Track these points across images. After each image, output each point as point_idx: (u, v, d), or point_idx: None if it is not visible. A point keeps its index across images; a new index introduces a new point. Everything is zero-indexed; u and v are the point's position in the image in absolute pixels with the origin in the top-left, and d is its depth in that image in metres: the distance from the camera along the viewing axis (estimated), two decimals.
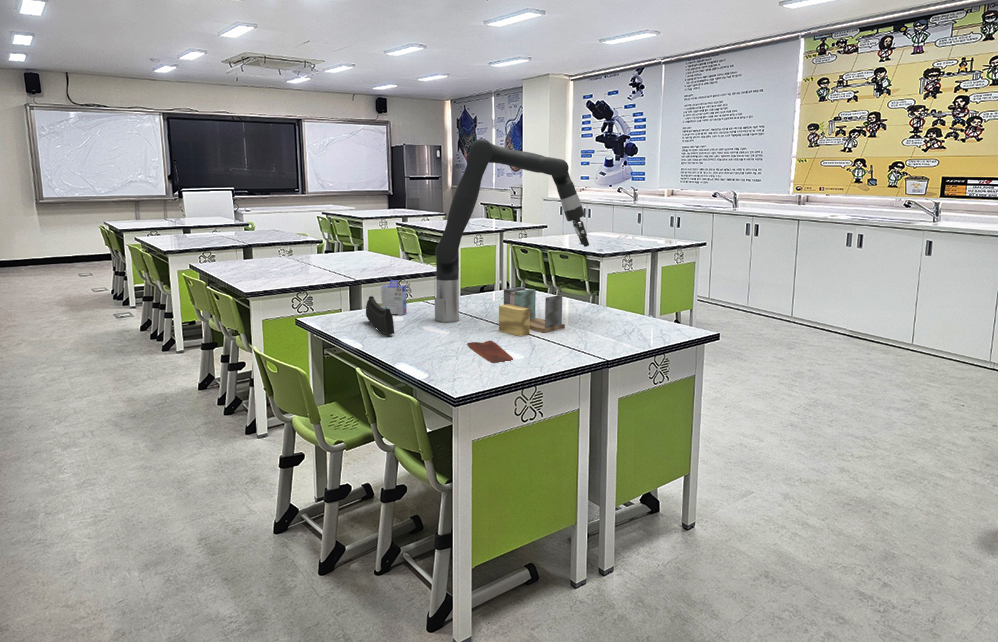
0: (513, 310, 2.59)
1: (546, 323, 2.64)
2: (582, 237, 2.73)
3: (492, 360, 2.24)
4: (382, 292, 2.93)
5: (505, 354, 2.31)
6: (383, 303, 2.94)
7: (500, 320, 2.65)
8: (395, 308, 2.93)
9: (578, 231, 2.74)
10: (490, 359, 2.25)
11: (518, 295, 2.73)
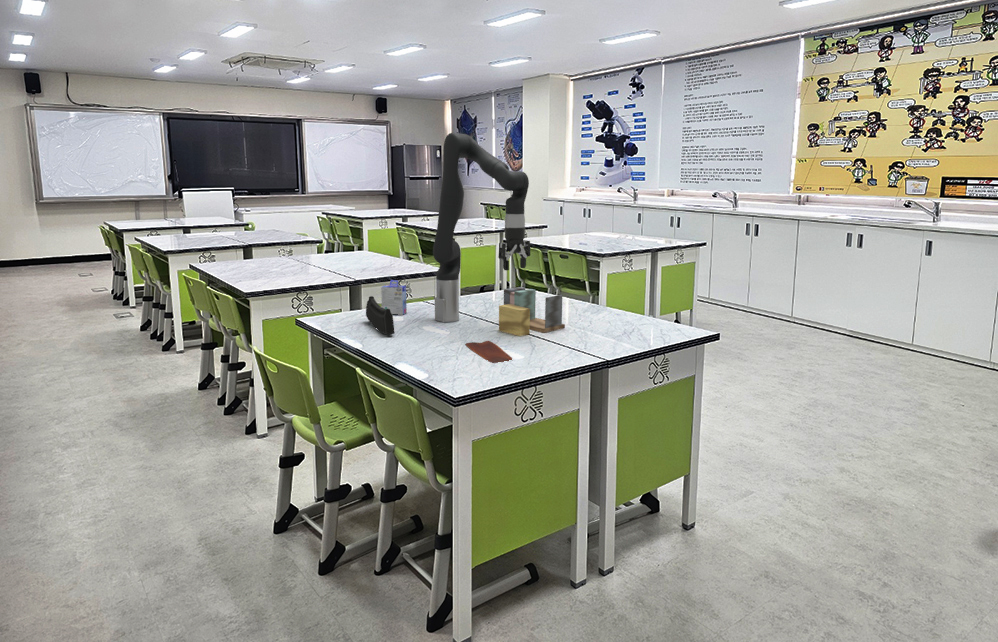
0: (513, 310, 2.59)
1: (546, 323, 2.64)
2: (502, 259, 2.55)
3: (492, 360, 2.24)
4: (382, 292, 2.93)
5: (504, 354, 2.31)
6: (383, 303, 2.94)
7: (500, 320, 2.65)
8: (395, 308, 2.93)
9: (505, 251, 2.56)
10: (490, 359, 2.25)
11: (518, 295, 2.73)
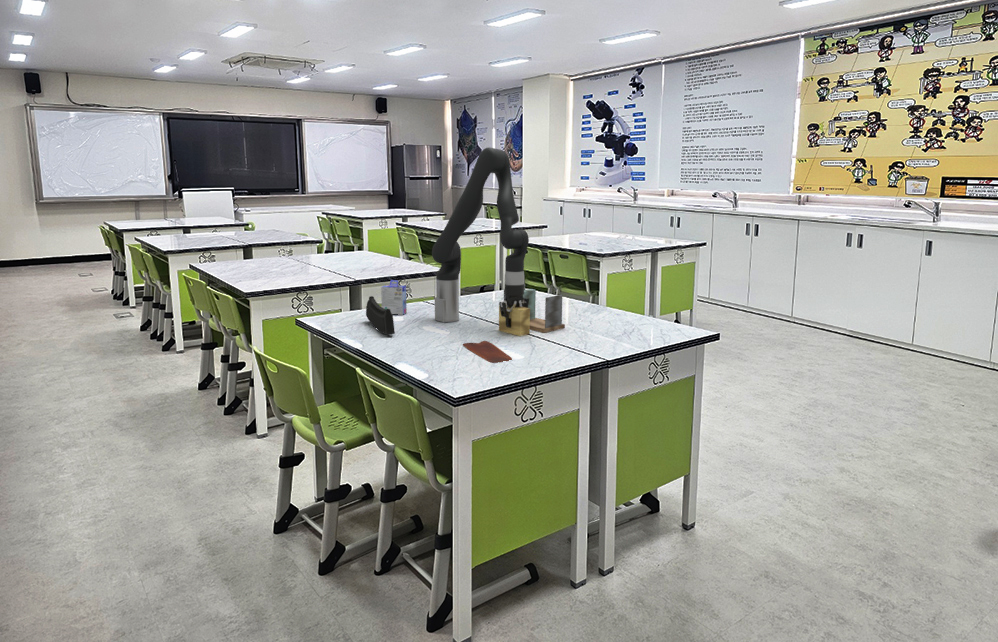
0: (513, 310, 2.59)
1: (546, 323, 2.64)
2: None
3: (491, 360, 2.24)
4: (382, 292, 2.93)
5: (503, 354, 2.31)
6: (383, 303, 2.94)
7: (500, 320, 2.65)
8: (395, 308, 2.93)
9: (506, 309, 2.61)
10: (489, 359, 2.25)
11: None
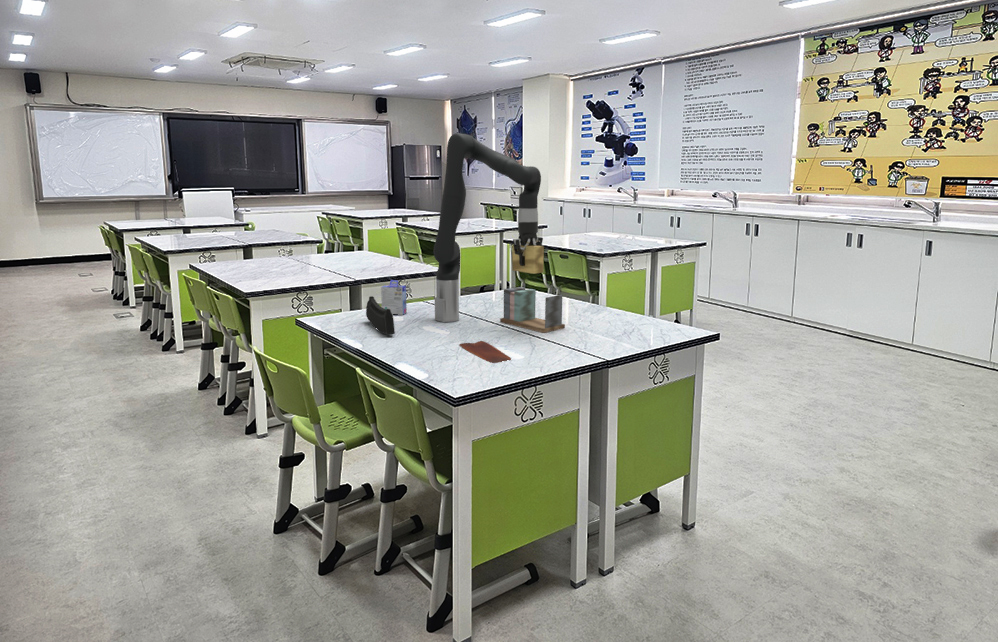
0: (527, 247, 2.58)
1: (546, 323, 2.64)
2: None
3: (491, 360, 2.24)
4: (382, 292, 2.93)
5: (502, 354, 2.31)
6: (383, 303, 2.94)
7: (513, 259, 2.64)
8: (395, 308, 2.93)
9: (520, 247, 2.60)
10: (489, 359, 2.25)
11: (518, 295, 2.73)
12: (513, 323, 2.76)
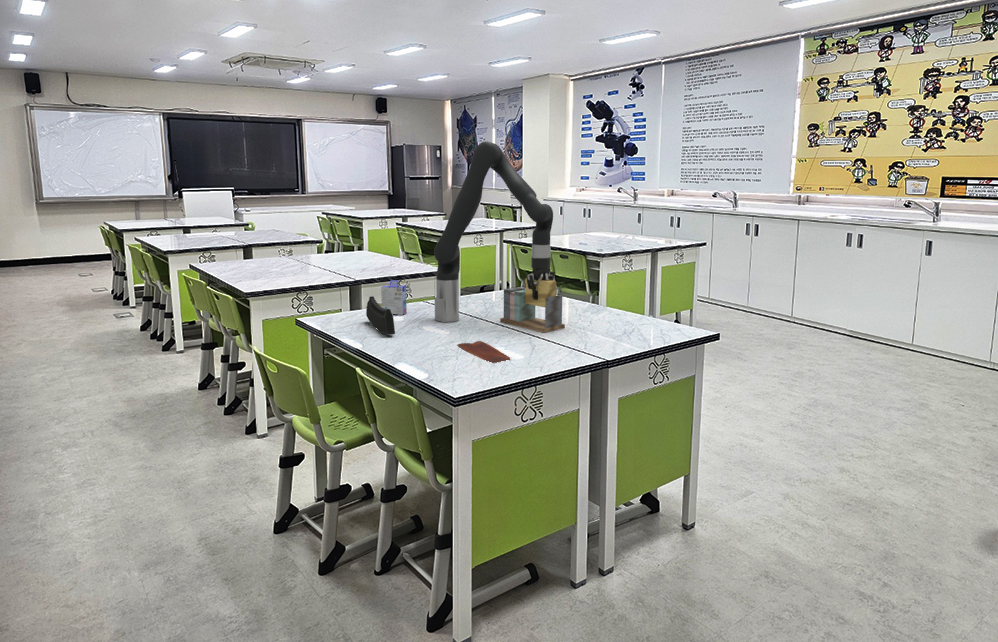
0: (540, 282, 2.66)
1: (546, 323, 2.64)
2: (531, 289, 2.67)
3: (491, 360, 2.24)
4: (382, 292, 2.93)
5: (501, 354, 2.31)
6: (383, 303, 2.94)
7: (526, 293, 2.72)
8: (395, 308, 2.93)
9: None
10: (488, 359, 2.25)
11: (518, 295, 2.73)
12: (513, 323, 2.76)
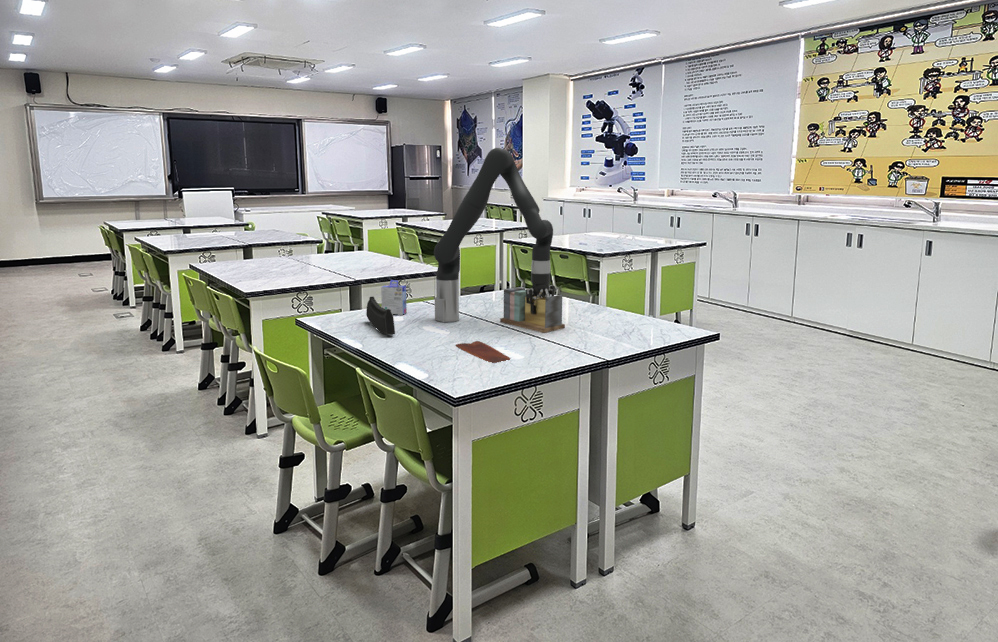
0: (539, 301, 2.67)
1: (546, 323, 2.64)
2: None
3: (491, 360, 2.24)
4: (382, 292, 2.93)
5: (500, 354, 2.31)
6: (383, 303, 2.94)
7: (526, 311, 2.74)
8: (395, 308, 2.93)
9: None
10: (488, 359, 2.25)
11: (518, 295, 2.73)
12: (513, 323, 2.76)
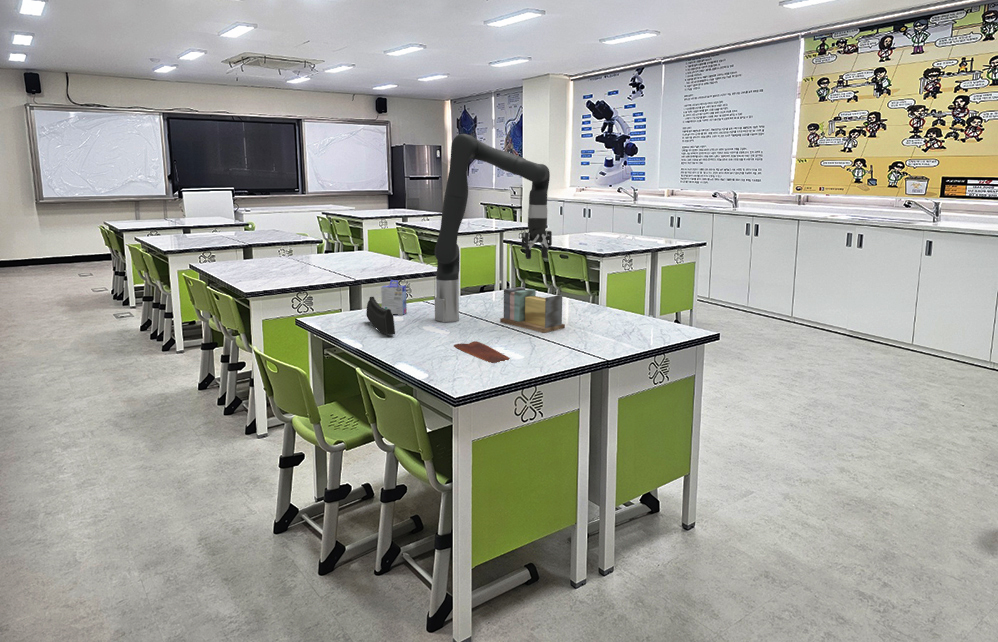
0: (539, 301, 2.67)
1: (546, 323, 2.64)
2: None
3: (491, 360, 2.24)
4: (382, 292, 2.93)
5: (499, 354, 2.31)
6: (383, 303, 2.94)
7: (526, 311, 2.74)
8: (395, 308, 2.93)
9: (527, 241, 2.67)
10: (488, 359, 2.25)
11: (518, 295, 2.73)
12: (513, 323, 2.76)
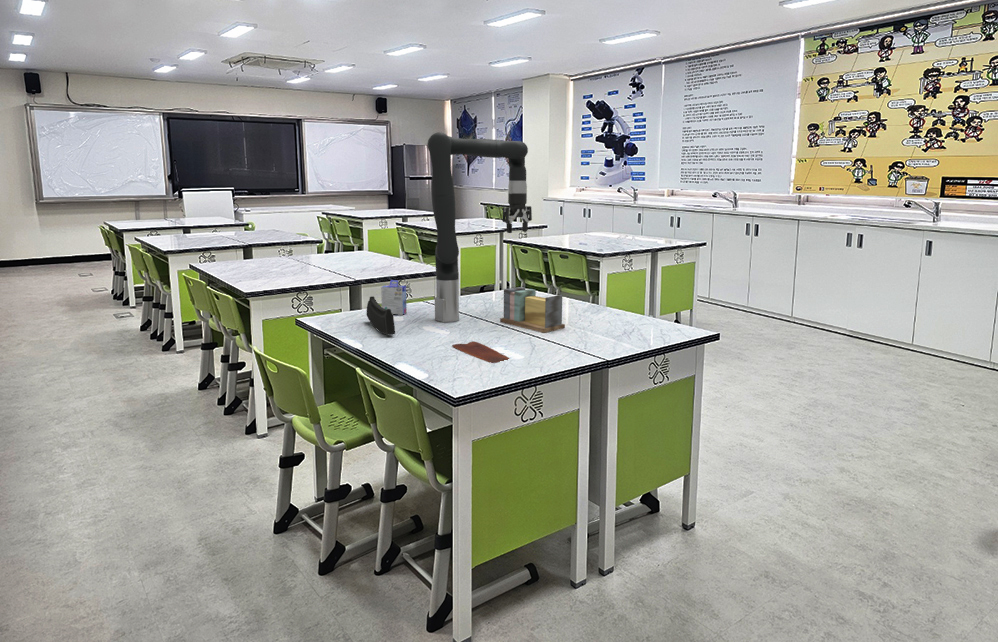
0: (539, 301, 2.67)
1: (546, 323, 2.64)
2: (505, 222, 2.77)
3: (490, 360, 2.24)
4: (382, 292, 2.93)
5: (499, 354, 2.31)
6: (383, 303, 2.94)
7: (526, 311, 2.74)
8: (395, 308, 2.93)
9: (508, 216, 2.78)
10: (488, 359, 2.25)
11: (518, 295, 2.73)
12: (513, 323, 2.76)
